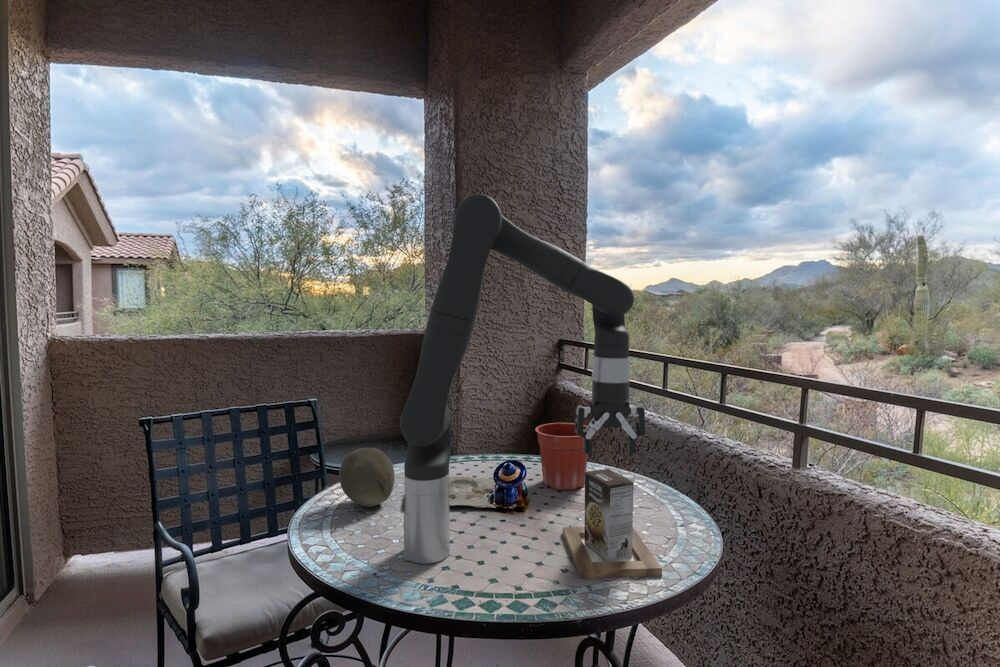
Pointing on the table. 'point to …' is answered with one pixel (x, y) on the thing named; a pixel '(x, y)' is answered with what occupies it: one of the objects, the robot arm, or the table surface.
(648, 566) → the walnut frame
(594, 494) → the coffee box
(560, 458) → the flower pot
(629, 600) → the table surface
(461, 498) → the stone relief
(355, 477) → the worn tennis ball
